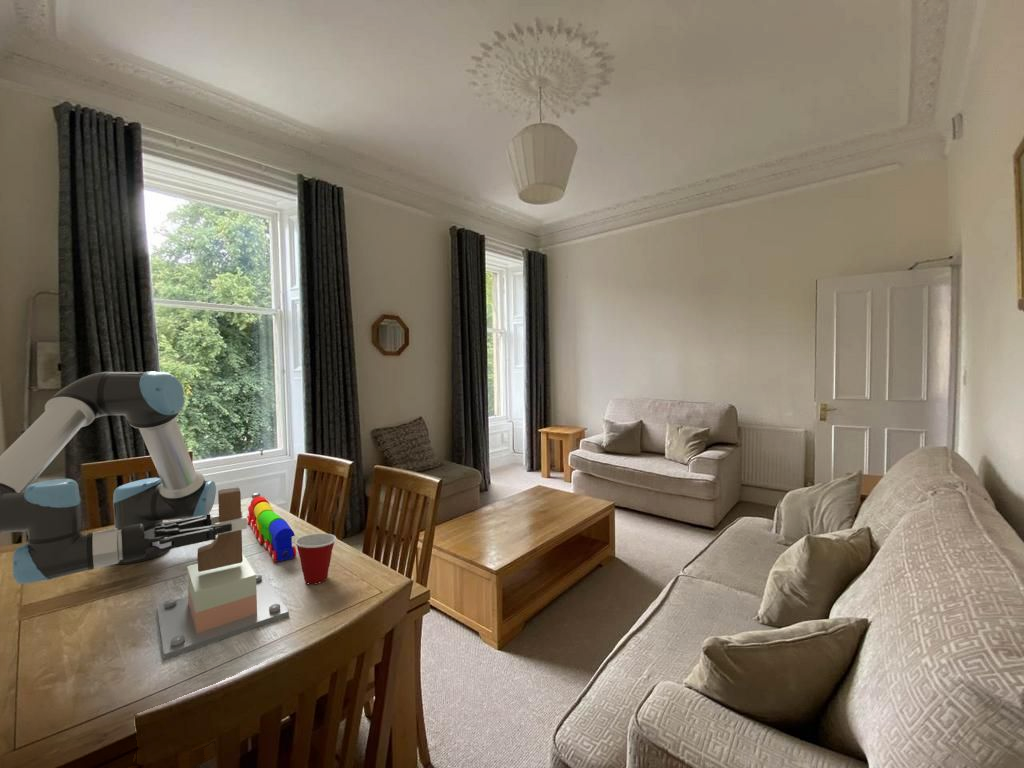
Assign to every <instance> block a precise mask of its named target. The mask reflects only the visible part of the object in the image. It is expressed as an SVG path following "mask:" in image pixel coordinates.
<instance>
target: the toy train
mask: <svg viewBox="0 0 1024 768" xmlns="http://www.w3.org/2000/svg"><path fill="white" fill-rule="evenodd" d="M251 498H252V499H251V501H250V504H249V506H248V507H247V511H248V514H247V516H246V517H247V525H250V528H251V529H252V530H253V533H254V534H253V535H254V536H255V539H258V540H257V542H258V544H259V545H260V544H263V546H264V549H265V550H266V551H268V554H269V556H271V558H272V562H273V563H274V562H275V563H277V562H282V561H286V560H289V559H294V557H295V558H297V549H296V548H297V547H296V545H293V541H292V538H293V537H295V536H296V535H295V532H294V530H293V529H292V527H291V525H289V524H288V522H287V521H286V520H285V519H284V518H282V517H281V516H280V515H278V514H277V513H275V511H274V510H273V508H272V505H271V504H270V502H269V501H268V500H267V499H266V497H264V496H261V493H259V492H254V493H252V494H251Z"/></svg>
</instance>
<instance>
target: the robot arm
mask: <svg viewBox="0 0 1024 768" xmlns="http://www.w3.org/2000/svg"><path fill="white" fill-rule="evenodd" d="M184 391H185V390H184V389H183V385H182V384H181V382H180V380H179V379H178V378H177V377H176V376H175V375H173V374H171V373H169V372H162V371H152V370H150V371H149V370H148V371H102V372H95V373H91V374H89V375H87V376H84V377H82V378H78V379H77V380H75V381H73V382H71V383H70V384H68V385H67V386H65V387H63V388H62V389H60V390H59V391H58V392H56V394H54V395H53V396H52V397H51V398H50V399H49V400H48V401H46V403H45V405H44V412H43V413H42V414H41V415H39V417H38V418H36V419H35V420H34V422H33V423H32V424H31V425H30V426H29V427H28V428H27V429H26V430H25V431H23V432H22V434H20V435H19V436H18V438H17V439H16V440H15V441H14V442H13V443H11V445H10V446H8V448H7V449H5V451H4V452H3V453H2V454H1V455H0V533H1V534H2V533H16V532H17V533H18V532H26V534H27V543H26V544H24V545H20V546H19V545H18V546H17V547H16V548H15V549H14V552H13V555H12V574H13V579H14V582H16V583H17V584H19V585H25V584H32V583H36V582H43V581H50V580H53V579H57V578H62V577H66V576H70V575H73V574H78V573H81V572H86V571H91V570H94V569H99V568H101V570H104V569H107V567H108V566H113V565H127V564H136V563H140V562H145V561H148V560H151V559H154V558H157V557H160V556H161V555H164V554H165V553H167V552H168V551H170V550H173V549H177V548H181V547H185V546H190V545H194V544H195V545H196V544H199V543H204V542H209V541H214V540H215V539H216V538H217V536H218V535H220V534H224V533H229V532H234V531H238V530H247V529H248V523H247V516H244V517H243V511H242V510H241V518H239V519H234V520H229V521H224V522H219V514H218V515H213V516H211V515H212V514H211V511H212V510H213V506H214V504H215V500H216V496H217V495H216V493H217V485H216V482H215V481H214V480H205V477H204V475H203V474H202V473H201V472H200V471H198V470H196V469H195V466H194V464H193V462H192V458H191V456H190V453H189V450H188V448H187V445H186V442H185V440H184V437H183V435H182V431H181V428H180V427H179V424H178V420H177V418H178V416H179V414H180V412H181V411H182V409H183V408H184V407H183V406H184V404H185V397H184V394H185V392H184ZM106 416H124V417H125V418H126V420H127V423H128V425H130V426H131V427H133V428H134V429H138V430H139V432H140V434H141V437H142V439H143V442H144V444H145V446H146V449H147V451H148V454H149V455H150V458H151V460H152V462H153V465H154V466H155V469H156V471H157V474H158V476H159V477H149V478H143V479H139V480H135V481H134V480H133V481H130V482H128V483H127V482H126V483H124V484H122V485H119V486H118V487H116V488H115V490H114V491H113V496H112V499H113V500H112V505H113V518H114V519H113V521H114V528H108V529H103V530H97V531H93V532H89V533H82V523H81V522H82V521H81V519H82V518H81V502H82V501H81V500H82V498H81V496H80V490H79V484H78V482H77V481H76V480H74V479H72V478H56V479H47V480H46V479H45V480H42V481H41V480H40V481H37V482H35V481H36V480H37V479H38V478H39V477H40V475H41V474H42V473H43V472H44V471H45V470H46V468H47V467H48V466H49V465H50V464H51V463H52V462H53V460H54V459H55V458H56V457H57V456H58V455H59V453H61V451H62V450H63V449H64V447H65V446H66V445H68V443H69V442H70V441H71V440H72V439H73V438H74V436H75V435H76V434H77V433H78V432H79V431H80V429H81V428H83V427H87V426H89V425H91V424H92V423H93V422H94V420H95V419H97V418H100V417H106ZM163 521H167V522H163Z"/></svg>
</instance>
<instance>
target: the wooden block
mask: <svg viewBox="0 0 1024 768" xmlns="http://www.w3.org/2000/svg"><path fill="white" fill-rule="evenodd" d="M241 496H242V495H241V489H240V487H238V486H237V487H231V488H223V489H219V490H218V492H217V497H218V498H217V500H218V515H219V522H224V521H229V520H234V519H239V518H241V511H242V501H241V500H242V499H241V498H242V497H241ZM242 553H243V533H242V530H238V531H234V532H229V533H224V534H220V535H216V539H215V540H212V542H211V543H209V544H205V545H203V546H200V547H198V548H197V564H198V571H199V572H201V571H206V570H210V569H215V568H219V567H224V566H228V565H233V564H238V563H241V562H242V561H243V559H242Z"/></svg>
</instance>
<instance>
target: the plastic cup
mask: <svg viewBox="0 0 1024 768" xmlns="http://www.w3.org/2000/svg"><path fill="white" fill-rule="evenodd" d="M337 539H338V538H337V537H336V535H334V534H331V533H310V534H306V535H302V536H299V537H297V538H296V540H295V541H294V542H295V546H296V548H297V552H298V555H299V561H300V564H301V565H300V566H301V571H302V575H303V579H304V583H305V582H306V583H305V584H307V583H309V584H308V585H310V584H314V585H316V584H315V583H319V582H322V581H324V580H325V579H326V578H328V575H329V569H330V564H331V559H332V554H333V549H334V545H335V542H336V541H337ZM326 580H327V579H326ZM326 580H325V581H326ZM325 581H324V582H325ZM322 583H323V582H322ZM319 584H320V583H319Z"/></svg>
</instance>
